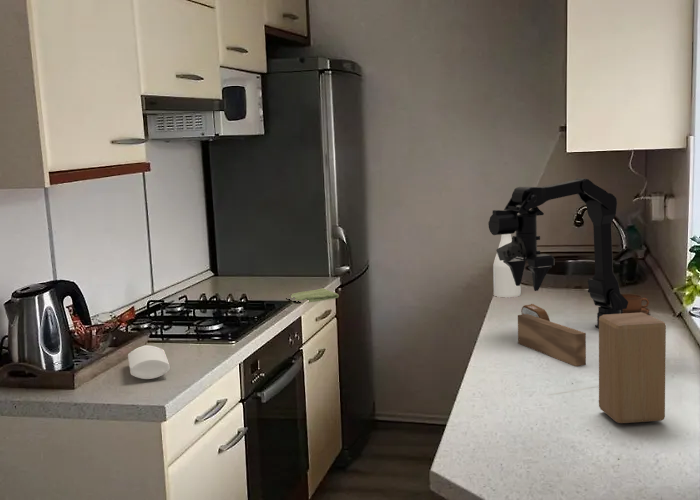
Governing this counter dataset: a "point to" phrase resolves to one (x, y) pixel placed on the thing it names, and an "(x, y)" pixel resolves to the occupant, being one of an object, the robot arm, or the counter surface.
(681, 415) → the counter surface
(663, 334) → the wooden block
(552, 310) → the counter surface
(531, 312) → the tin
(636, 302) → the cup and saucer
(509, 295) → the wine bottle
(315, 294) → the washcloth
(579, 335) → the walnut board
